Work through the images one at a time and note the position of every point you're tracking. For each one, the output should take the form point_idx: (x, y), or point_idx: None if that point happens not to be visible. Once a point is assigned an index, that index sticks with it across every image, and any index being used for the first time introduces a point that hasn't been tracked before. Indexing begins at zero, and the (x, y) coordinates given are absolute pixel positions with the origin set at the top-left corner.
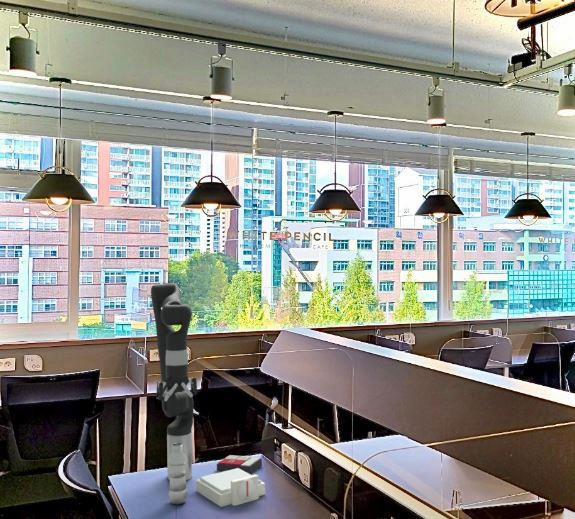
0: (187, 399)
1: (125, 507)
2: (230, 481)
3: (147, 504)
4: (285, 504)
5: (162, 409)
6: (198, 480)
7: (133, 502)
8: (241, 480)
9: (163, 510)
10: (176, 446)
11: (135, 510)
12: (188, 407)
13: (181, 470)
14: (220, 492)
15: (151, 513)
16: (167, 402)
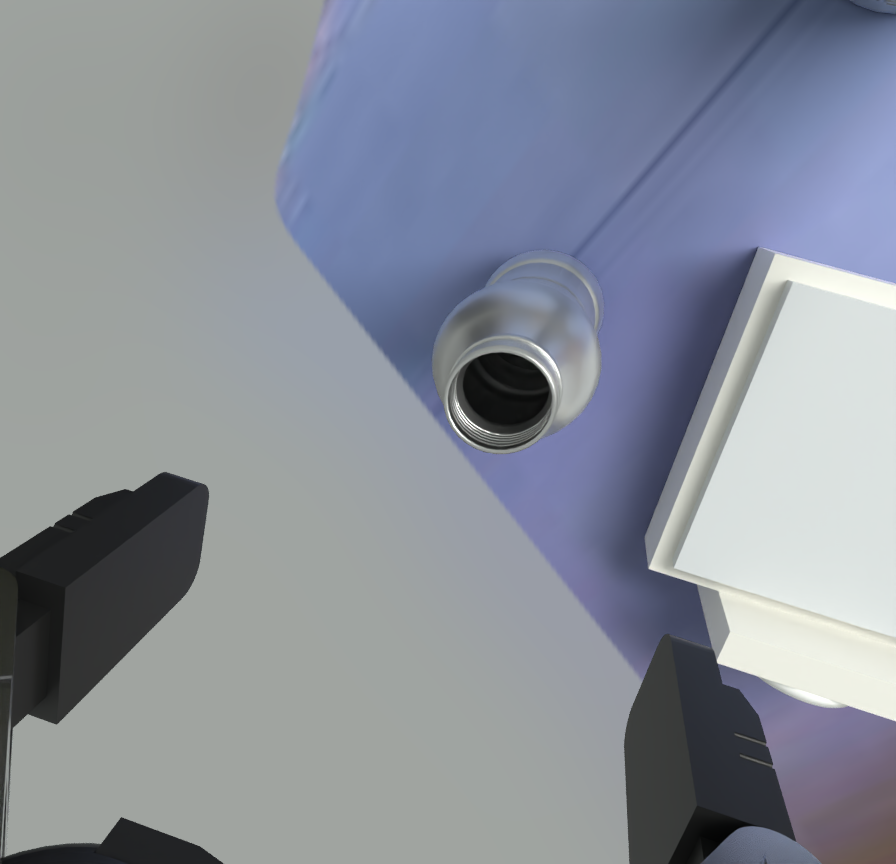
0: (662, 817)
1: (304, 99)
2: (839, 517)
3: (414, 171)
4: (867, 775)
5: (113, 496)
6: (772, 279)
7: (377, 67)
8: (774, 681)
9: (421, 320)
10: (457, 434)
11: (320, 189)
12: (634, 718)
13: (507, 410)
14: (677, 547)
15: (355, 299)
16: (65, 699)
